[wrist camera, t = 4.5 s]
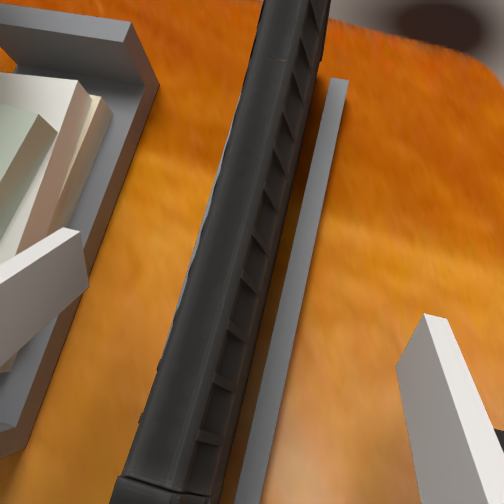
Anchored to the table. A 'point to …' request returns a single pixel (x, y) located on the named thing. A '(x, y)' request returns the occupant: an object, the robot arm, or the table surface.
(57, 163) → the offcut
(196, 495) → the magazine
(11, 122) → the offcut
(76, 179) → the offcut
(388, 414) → the table surface
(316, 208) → the rack
